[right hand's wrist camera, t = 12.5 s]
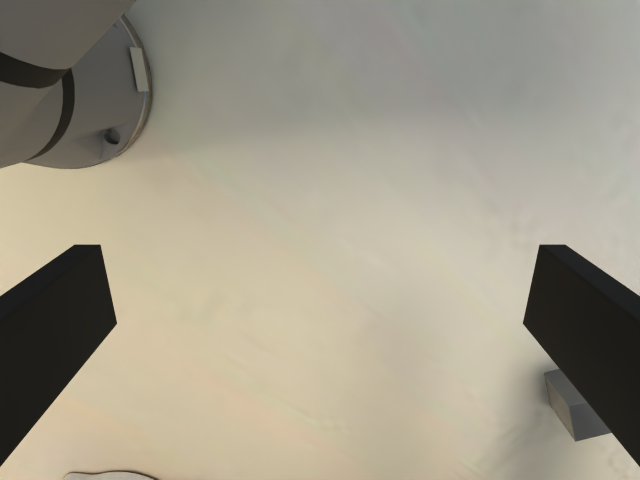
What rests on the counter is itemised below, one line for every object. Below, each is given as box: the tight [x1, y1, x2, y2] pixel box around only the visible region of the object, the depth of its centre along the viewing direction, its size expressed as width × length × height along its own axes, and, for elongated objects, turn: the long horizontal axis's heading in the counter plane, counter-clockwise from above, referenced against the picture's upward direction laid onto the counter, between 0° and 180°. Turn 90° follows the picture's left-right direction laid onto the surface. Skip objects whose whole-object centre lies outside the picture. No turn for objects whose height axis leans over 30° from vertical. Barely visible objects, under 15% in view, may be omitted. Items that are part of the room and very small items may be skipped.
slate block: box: [544, 369, 612, 441], centre depth 44 cm, size 5×5×5 cm
